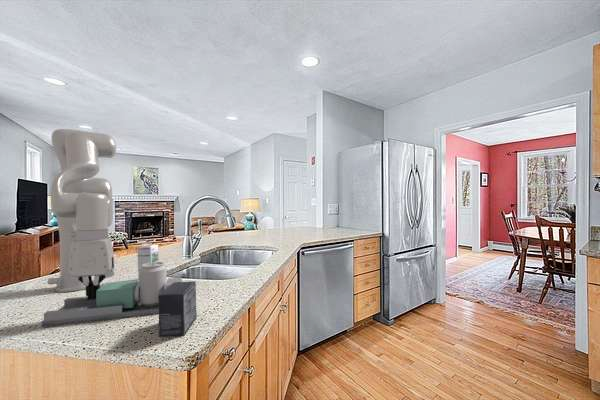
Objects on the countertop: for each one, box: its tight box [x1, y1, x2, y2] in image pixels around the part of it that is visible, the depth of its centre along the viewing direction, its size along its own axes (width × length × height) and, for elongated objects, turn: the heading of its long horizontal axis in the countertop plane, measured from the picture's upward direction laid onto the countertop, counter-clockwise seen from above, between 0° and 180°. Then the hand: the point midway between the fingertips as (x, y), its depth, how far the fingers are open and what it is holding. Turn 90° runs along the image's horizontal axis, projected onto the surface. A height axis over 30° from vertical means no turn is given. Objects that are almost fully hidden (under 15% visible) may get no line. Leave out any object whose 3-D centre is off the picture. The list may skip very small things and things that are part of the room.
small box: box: [158, 280, 198, 338], centre depth 73 cm, size 11×6×10 cm, turn 5°
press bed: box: [41, 276, 183, 328], centre depth 83 cm, size 33×12×8 cm, turn 107°
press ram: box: [96, 279, 140, 308], centre depth 84 cm, size 10×8×6 cm
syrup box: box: [136, 243, 159, 280], centre depth 116 cm, size 6×6×14 cm
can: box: [139, 261, 168, 306], centre depth 86 cm, size 8×8×12 cm
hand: (93, 297), depth 81 cm, fingers closed
